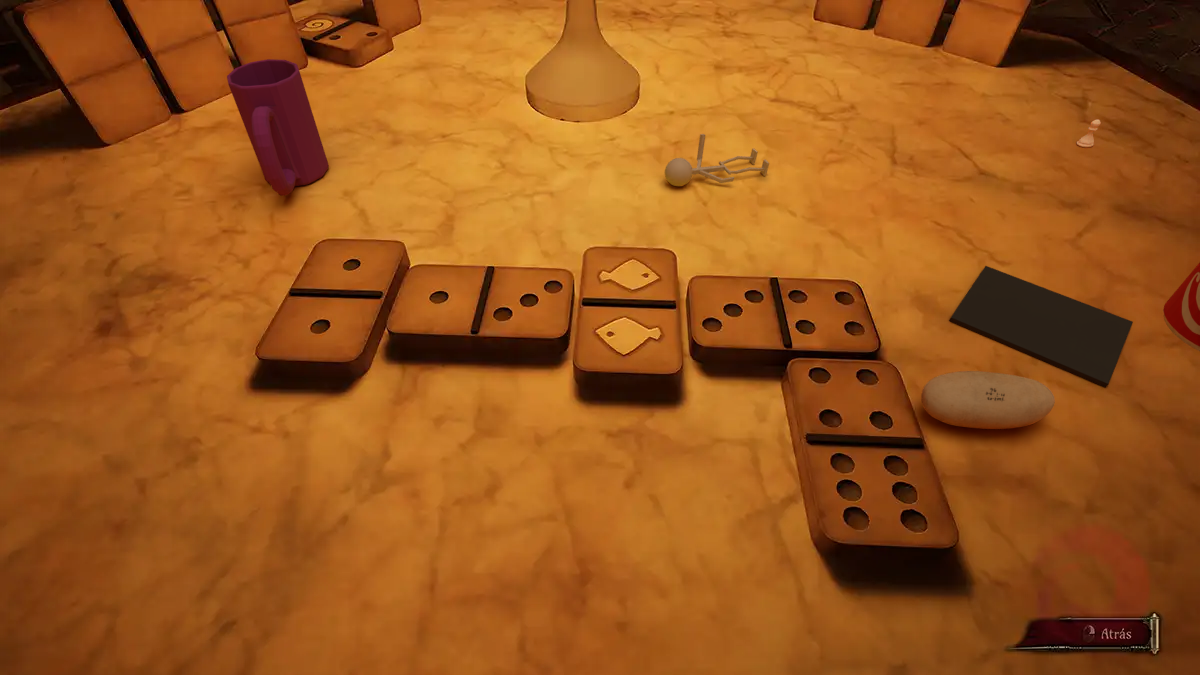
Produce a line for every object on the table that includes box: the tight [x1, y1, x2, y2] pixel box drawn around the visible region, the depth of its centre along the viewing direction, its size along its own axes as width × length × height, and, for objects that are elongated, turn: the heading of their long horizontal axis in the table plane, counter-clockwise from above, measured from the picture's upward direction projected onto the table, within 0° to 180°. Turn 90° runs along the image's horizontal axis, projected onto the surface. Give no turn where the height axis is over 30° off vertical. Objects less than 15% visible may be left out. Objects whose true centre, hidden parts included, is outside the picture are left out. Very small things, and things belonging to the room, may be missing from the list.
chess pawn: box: [1076, 118, 1102, 148], centre depth 105 cm, size 3×2×4 cm
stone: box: [920, 370, 1056, 430], centre depth 67 cm, size 6×6×12 cm
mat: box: [948, 265, 1134, 388], centre depth 78 cm, size 16×12×1 cm
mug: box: [226, 58, 330, 197], centre depth 95 cm, size 9×16×15 cm, turn 11°
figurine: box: [664, 133, 770, 187], centre depth 98 cm, size 6×6×15 cm
